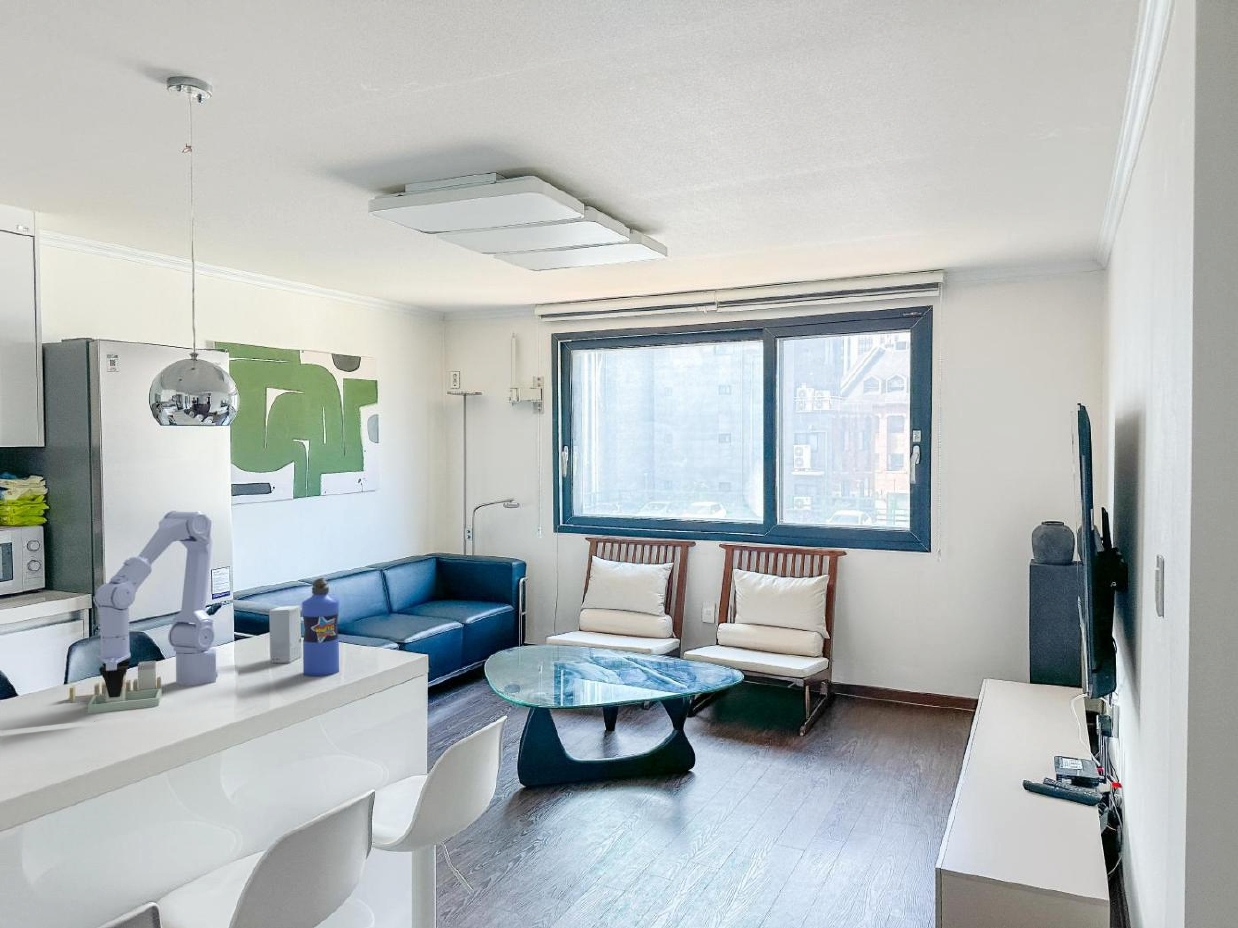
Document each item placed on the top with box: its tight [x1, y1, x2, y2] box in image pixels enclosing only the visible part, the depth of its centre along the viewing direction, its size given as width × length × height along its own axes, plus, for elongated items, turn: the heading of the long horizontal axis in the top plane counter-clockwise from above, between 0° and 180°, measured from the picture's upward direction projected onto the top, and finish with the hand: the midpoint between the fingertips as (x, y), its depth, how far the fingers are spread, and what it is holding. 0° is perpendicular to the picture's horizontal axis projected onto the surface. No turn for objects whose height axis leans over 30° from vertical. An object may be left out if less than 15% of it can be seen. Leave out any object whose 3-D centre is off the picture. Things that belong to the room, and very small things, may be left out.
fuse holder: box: [64, 676, 165, 705], centre depth 209 cm, size 20×6×4 cm, turn 113°
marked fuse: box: [105, 675, 126, 703], centre depth 200 cm, size 4×4×7 cm
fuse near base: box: [137, 660, 157, 691], centre depth 211 cm, size 4×4×7 cm
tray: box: [87, 688, 163, 714], centre depth 201 cm, size 14×9×3 cm, turn 113°
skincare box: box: [268, 605, 303, 664], centre depth 247 cm, size 8×6×15 cm
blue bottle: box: [301, 577, 340, 678], centre depth 233 cm, size 9×9×25 cm
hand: (115, 694), depth 201 cm, fingers closed on marked fuse, 3 cm apart
